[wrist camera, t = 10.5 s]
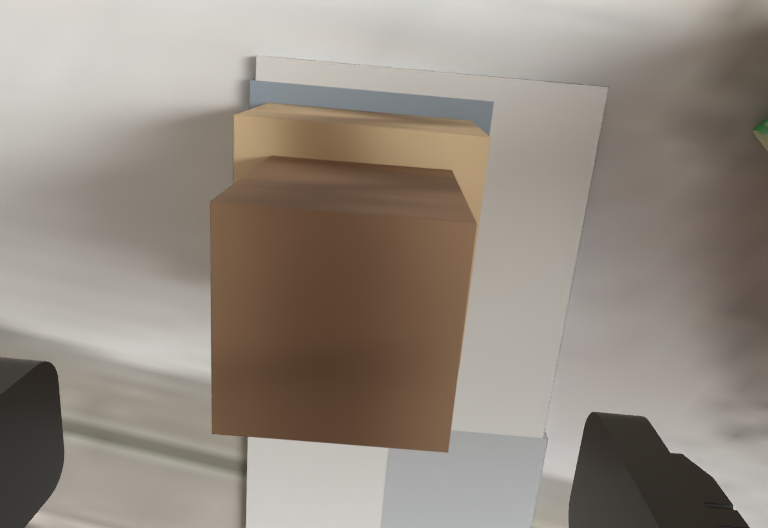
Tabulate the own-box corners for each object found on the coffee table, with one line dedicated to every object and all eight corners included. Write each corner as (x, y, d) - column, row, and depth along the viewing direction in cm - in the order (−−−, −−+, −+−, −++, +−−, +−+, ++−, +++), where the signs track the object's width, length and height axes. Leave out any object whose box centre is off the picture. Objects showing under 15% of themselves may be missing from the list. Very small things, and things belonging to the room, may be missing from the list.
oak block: (471, 120, 22) (490, 137, 17) (447, 307, 24) (459, 368, 19) (269, 102, 22) (234, 114, 17) (264, 291, 24) (230, 348, 19)
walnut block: (451, 169, 18) (477, 223, 12) (433, 335, 19) (447, 452, 13) (271, 155, 18) (210, 202, 12) (267, 321, 19) (211, 433, 13)
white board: (610, 87, 22) (614, 87, 22) (516, 590, 29) (517, 597, 28) (252, 55, 22) (250, 55, 22) (242, 566, 29) (240, 573, 28)
